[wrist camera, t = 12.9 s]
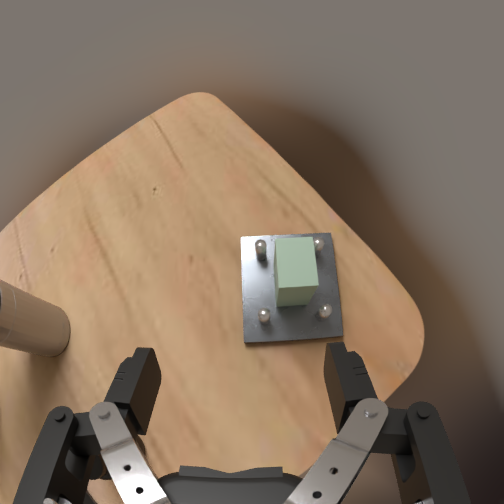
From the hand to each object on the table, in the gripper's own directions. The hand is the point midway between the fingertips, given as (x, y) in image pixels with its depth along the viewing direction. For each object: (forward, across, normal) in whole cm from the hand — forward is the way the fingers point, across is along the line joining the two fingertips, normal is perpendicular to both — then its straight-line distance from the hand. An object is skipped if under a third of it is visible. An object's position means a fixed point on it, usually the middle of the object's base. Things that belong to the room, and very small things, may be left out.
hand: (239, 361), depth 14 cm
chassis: (+30, -6, +13) cm, 33 cm away
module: (+29, -5, +12) cm, 32 cm away
